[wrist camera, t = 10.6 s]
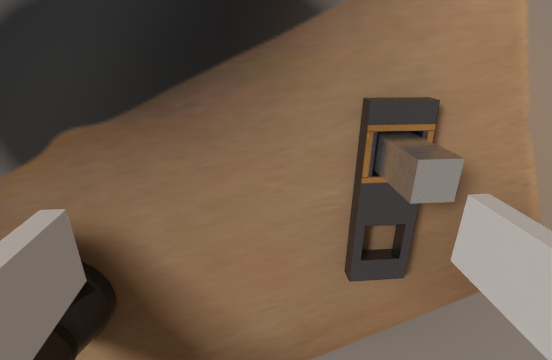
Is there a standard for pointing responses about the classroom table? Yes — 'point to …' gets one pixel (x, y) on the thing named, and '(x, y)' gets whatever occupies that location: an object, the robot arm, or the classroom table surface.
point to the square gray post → (417, 167)
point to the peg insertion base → (384, 188)
